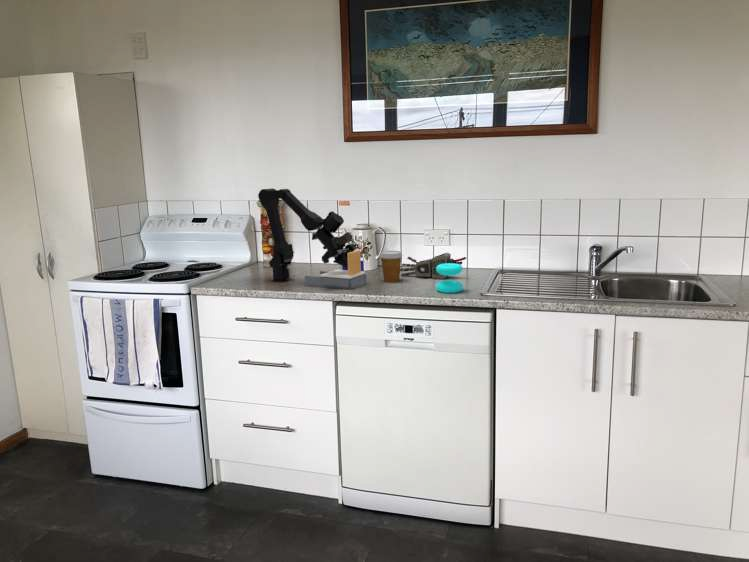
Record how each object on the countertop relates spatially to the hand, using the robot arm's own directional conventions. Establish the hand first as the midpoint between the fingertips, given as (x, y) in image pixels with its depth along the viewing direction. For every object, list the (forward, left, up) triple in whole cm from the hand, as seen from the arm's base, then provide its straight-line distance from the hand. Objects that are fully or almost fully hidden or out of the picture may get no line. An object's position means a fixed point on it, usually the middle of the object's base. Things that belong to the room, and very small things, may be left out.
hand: (352, 268), depth 237 cm
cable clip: (-3, +23, -8) cm, 25 cm away
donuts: (+38, -11, -7) cm, 40 cm away
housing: (-8, +4, -7) cm, 11 cm away
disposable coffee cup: (+15, +10, -7) cm, 20 cm away
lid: (-4, +2, -3) cm, 6 cm away
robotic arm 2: (+32, +16, -8) cm, 37 cm away
